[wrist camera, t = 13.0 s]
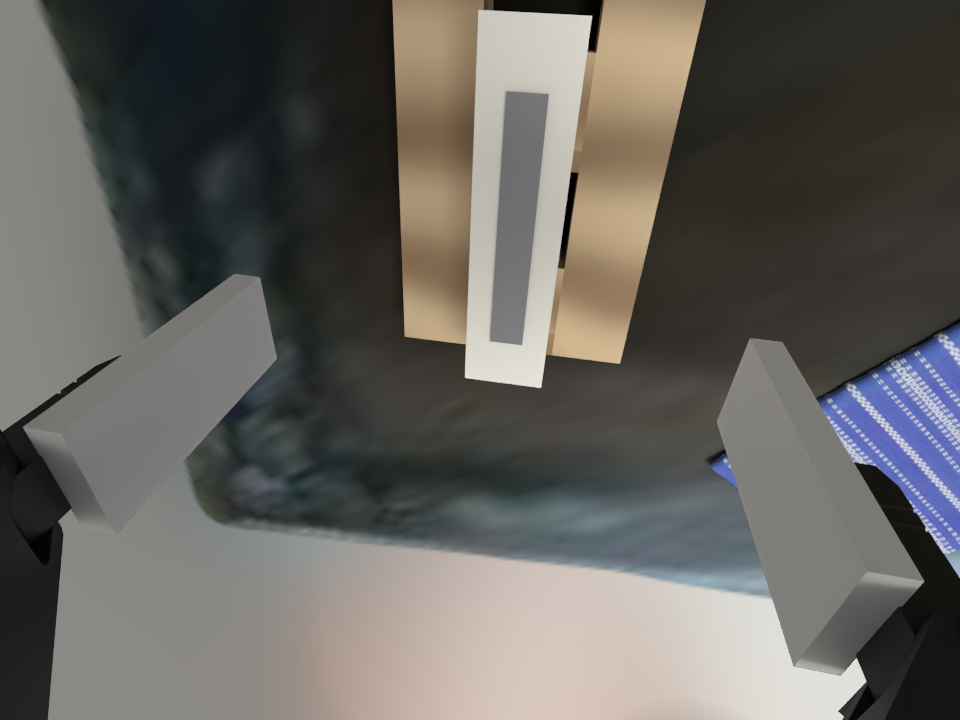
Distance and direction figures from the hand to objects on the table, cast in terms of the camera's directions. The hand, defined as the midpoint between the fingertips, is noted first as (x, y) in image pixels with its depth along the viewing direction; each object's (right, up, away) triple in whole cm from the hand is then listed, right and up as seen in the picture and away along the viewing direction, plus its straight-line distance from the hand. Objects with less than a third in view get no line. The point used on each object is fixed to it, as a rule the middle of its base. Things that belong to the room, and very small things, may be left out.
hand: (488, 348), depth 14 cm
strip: (+2, +9, +14) cm, 17 cm away
